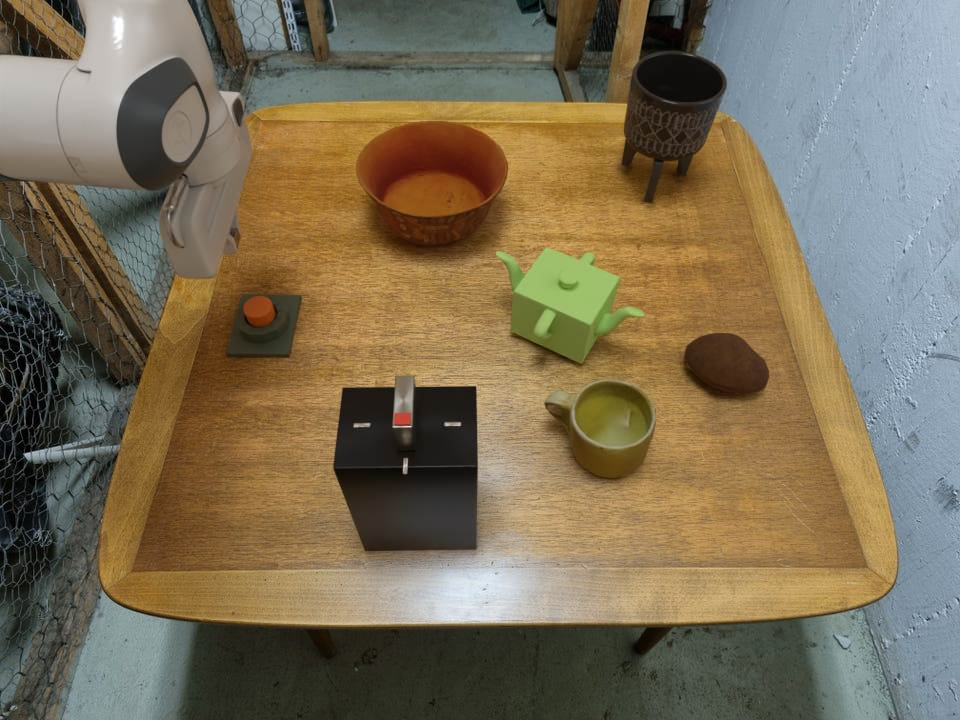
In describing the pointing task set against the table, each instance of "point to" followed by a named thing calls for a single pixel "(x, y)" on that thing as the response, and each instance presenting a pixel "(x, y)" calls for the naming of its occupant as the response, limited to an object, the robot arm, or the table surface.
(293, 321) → the housing
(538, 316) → the teapot
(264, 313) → the button
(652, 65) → the planter
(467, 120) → the table surface
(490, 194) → the bowl
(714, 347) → the potato
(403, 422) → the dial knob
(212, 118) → the robot arm
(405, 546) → the black lever box
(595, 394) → the mug
